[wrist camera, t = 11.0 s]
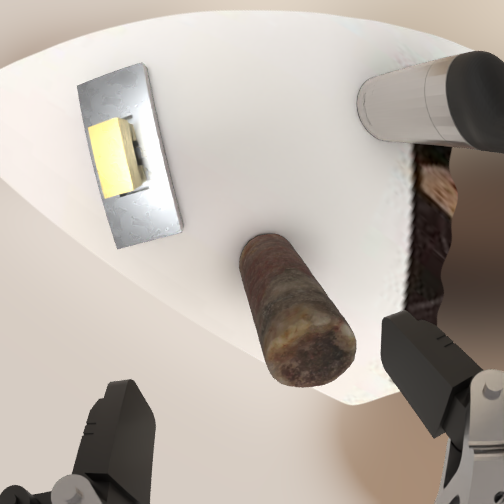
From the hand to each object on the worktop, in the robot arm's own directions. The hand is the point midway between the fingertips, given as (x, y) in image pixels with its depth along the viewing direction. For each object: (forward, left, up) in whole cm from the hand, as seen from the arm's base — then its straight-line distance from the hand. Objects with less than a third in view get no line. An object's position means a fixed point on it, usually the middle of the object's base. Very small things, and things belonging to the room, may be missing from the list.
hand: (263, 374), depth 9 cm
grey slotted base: (+9, -8, -30) cm, 32 cm away
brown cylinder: (-4, +9, -30) cm, 32 cm away
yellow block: (+9, -8, -30) cm, 32 cm away
